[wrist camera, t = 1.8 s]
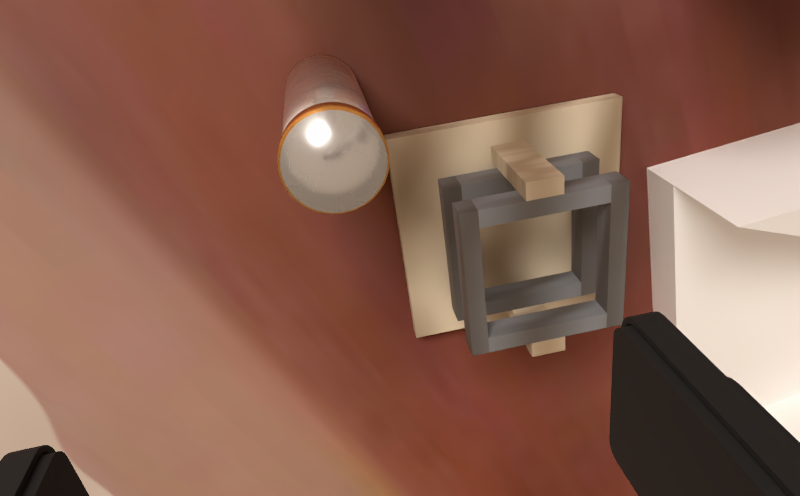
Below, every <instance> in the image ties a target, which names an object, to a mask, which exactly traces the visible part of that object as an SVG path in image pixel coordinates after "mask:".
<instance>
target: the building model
mask: <svg viewBox="0 0 800 496" xmlns="http://www.w3.org/2000/svg"><path fill="white" fill-rule="evenodd" d="M647 186H648V209H649V232H650V255H651V278H652V300H653V312H655V311H657V312H660V313H662V314H663V315H664V316H665V317H666V318H667V319H668V320H670V321H671V322H672V323H673V324H674V325H675V326H676V327H677V328H678V329H679V330H680V331H681V332H682V333H683V334H684V335H685V336H686V337H687V338H688V339H689V340H690V341H691V342H692V343H693V344H694V345H695V346H696V347H697V348H698V349H699V350H700V351H701V352H702V353H703V354H704V355H705V356H706V357H707V358H708V359H709V360H710V361H711V362H712V363H713V364H714V365H715V366H716V367H717V368H718V369H720V370H721V371H722V372H723V373H724V374H725V375H726V376H727V377H730V378H732V379H733V380H735V381H736V382H737V383H739V384H740V385H741V386H742V387H743V388H744V389H745V390H746V391H747V392H748V393H749V394H750V395H751V396H752V397H753V398H754V399H755V400H756V401H758V402H759V403H760V404H761V405H762V406H763V407H764V408H765V409H766V410H767V411H768V412H769V413H770V414H771V415H772V416H773V417H774V418H775V419H776V420H777V421H778V422H779V423H780V424H781V425H782V426H783V427H784V428H785V429H786V430H787V431H788V432H790V433H791V434H792V435H793V436H794V437H795V438H796V439H797V440H798V441H799V442H800V123H798V124H794V125H791V126H787V127H784V128H781V129H777V130H774V131H770V132H767V133H764V134H760V135H757V136H753V137H750V138H747V139H743V140H740V141H736V142H733V143H730V144H726V145H723V146H720V147H716V148H713V149H709V150H706V151H703V152H699V153H696V154H692V155H689V156H686V157H682V158H679V159H675V160H672V161H669V162H665V163H662V164H658V165H655V166H652V167H648V168H647Z"/></svg>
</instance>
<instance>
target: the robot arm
mask: <svg viewBox="0 0 800 496" xmlns="http://www.w3.org/2000/svg"><path fill="white" fill-rule="evenodd" d="M610 446H611V450H612V453H613V455H614V457H615V459H616V461H617V463H618V464H619V466H620V467H621V469H622V470H623V472H624V474H625V475H626V477H627V478H628V480H629V481H630V483H631V485H632V486H633V488H634V489H635V491H636V492H637V494H638V496H800V442H799V441H798V440H797V439H796V438H795V437H794V436H793V435H792V434H791V433H790V432H788V431H787V430H786V429H785V428H784V427H783V426H782V425H781V424H780V423H779V422H778V421H777V420H776V419H775V418H774V417H773V416H772V415H771V414H770V413H769V412H768V411H767V410H766V409H765V408H764V407H763V406H762V405H761V404H760V403H759V402H758V401H756V400H755V399H754V398H753V397H752V396H751V395H750V394H749V393H748V392H747V391H746V390H745V389H744V388H743V387H742V386H741V385H740V384H739V383H737V382H736V381H735V380H733V379H732V378H730V377H727V376H726V375H725V374H724V373H723V372H722V371H721V370H720V369H718V368H717V367H716V366H715V365H714V364H713V363H712V362H711V361H710V360H709V359H708V358H707V357H706V356H705V355H704V354H703V353H702V352H701V351H700V350H699V349H698V348H697V347H696V346H695V345H694V344H693V343H692V342H691V341H690V340H689V339H688V338H687V337H686V336H685V335H684V334H683V333H682V332H681V331H680V330H679V329H678V328H677V327H676V326H675V325H674V324H673V323H672V322H671V321H670V320H668V319H667V318H666V317H665V316H664V315H663V314H662V313H660V312H657V311H655V312H650V313H645V314H641V315H636V316H632V317H627V318H625V319H624V320H623V322H622V327H621V328H617V329H615V331H614V338H613V363H612V388H611V413H610ZM0 496H89V495H88V493H87V491H86V489H85V488H84V486H83V484H82V482H81V480H80V478H79V477H78V475H77V473H76V472H75V470H74V468H73V466H72V464H71V462H70V461H69V459H68V457H67V456H66V454H65V453H63V452H62V451H58V452H55V450H54V449H53V448H52V447H50V446H48V445H43V446H38V447H34V448H29V449H25V450H20V451H16V452H11V453H8V454H7V455H5V456H4V457H3V458H2V460H1V461H0Z"/></svg>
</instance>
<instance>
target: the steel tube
mask: <svg viewBox="0 0 800 496" xmlns="http://www.w3.org/2000/svg"><path fill="white" fill-rule="evenodd" d="M277 163H278V171H279V175H280V178H281V181H282V183H283V185H284V187H285V188H286V190H287V191H288V193H289V194H290V195H291V196H292V197H293V198H294V199H295V200H296V201H297V202H298V203H300V204H301V205H303V206H305V207H306V208H308V209H311V210H313V211H316V212H320V213H325V214H342V213H347V212H351V211H354V210H356V209H359V208H361V207H362V206H364V205H366V204H367V203H368V202H370V201H371V200H372V199H373V198H374V197H375V196H376V195H377V194H378V193H379V191H380V190H381V188H382V187H383V185H384V183H385V181H386V178H387V175H388V172H389V166H390V156H389V150H388V145H387V143H386V140H385V138H384V135H383V133H382V131H381V130H380V128H379V126H378V125H377V123H376V122H375V121H374V119H373V117H372V114H371V112H370V110H369V107H368V105H367V103H366V100H365V98H364V96H363V93H362V91H361V89H360V86H359V84H358V82H357V80H356V77H355V75H354V73H353V72H352V70H351V69H350V68H349V67H348V66H347V65H346V64H345V63H344V62H343V61H341V60H340V59H338V58H336V57H333V56H330V55H313V56H309V57H307V58H305V59H303V60H301V61H300V62H299V63H297V64H296V65H295V66H294V68H293V69H292V70H291V72H290V74H289V76H288V78H287V82H286V89H285V102H284V115H283V128H282V136H281V138H280V142H279V147H278V157H277Z"/></svg>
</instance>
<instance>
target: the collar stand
mask: <svg viewBox="0 0 800 496" xmlns="http://www.w3.org/2000/svg"><path fill="white" fill-rule="evenodd" d="M621 118H622V96H619V95H617V94H615V93H612V94H606V95H601V96H595V97H590V98H584V99H579V100H573V101H568V102H562V103H557V104H551V105H546V106H540V107H534V108H529V109H523V110H518V111H512V112H507V113H501V114H496V115H490V116H485V117H479V118H474V119H468V120H463V121H457V122H452V123H446V124H441V125H435V126H430V127H424V128H419V129H413V130H408V131H402V132H397V133H391V134H385V135H384V138H385V140H386V143H387V145H388V150H389V156H390V166H389V171H390V178H391V184H392V191H393V197H394V204H395V210H396V217H397V223H398V229H399V236H400V242H401V249H402V255H403V262H404V268H405V275H406V281H407V288H408V294H409V301H410V307H411V314H412V320H413V327H414V331H415V335H416V338H419V337H423V336H428V335H433V334H438V333H443V332H448V331H452V330H457V329H462V328H465V335H466V341H467V344H468V346H469V348H470V351H471V353H472V356H474V355H479V354H484V353H489V352H493V351H498V350H503V349H508V348H512V347H517V346H522V345H526V347H527V349H528V350H529V352H530V354H531V356H532V357H535V356H540V355H544V354H549V353H554V352H558V351H563V350H565V336H569V335H574V334H579V333H584V332H588V331H593V330H598V329H603V328H607V327H612V326H617V325H622V322H623V312H624V293H625V274H626V255H627V236H628V217H629V199H630V181H629V180H628V179H627V178H625V177H624V176H622V175H621V174H620V173H619V165H620V142H621Z"/></svg>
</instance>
